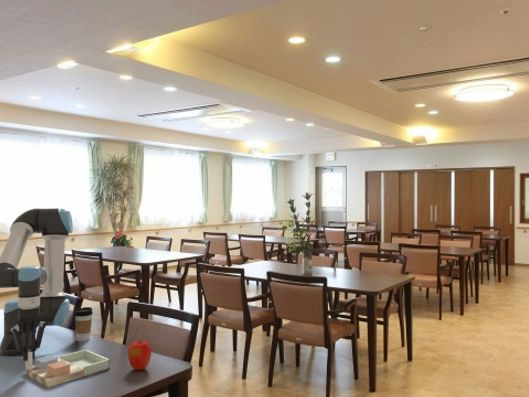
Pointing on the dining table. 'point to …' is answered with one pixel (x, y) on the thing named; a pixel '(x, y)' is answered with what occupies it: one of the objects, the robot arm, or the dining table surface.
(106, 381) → the dining table surface
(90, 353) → the box
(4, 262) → the robot arm
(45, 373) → the light wooden slatted rack
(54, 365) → the tile terracotta
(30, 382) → the dining table surface
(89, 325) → the coffee cup
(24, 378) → the dining table surface
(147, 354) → the apple
